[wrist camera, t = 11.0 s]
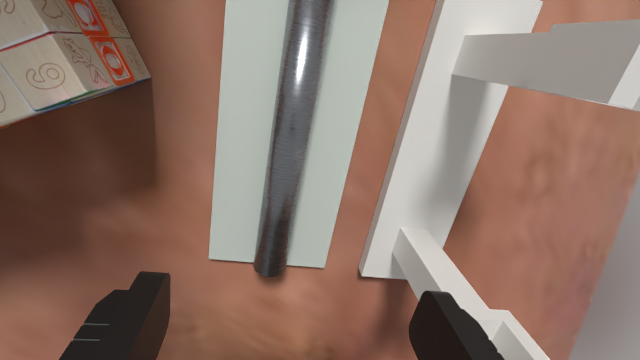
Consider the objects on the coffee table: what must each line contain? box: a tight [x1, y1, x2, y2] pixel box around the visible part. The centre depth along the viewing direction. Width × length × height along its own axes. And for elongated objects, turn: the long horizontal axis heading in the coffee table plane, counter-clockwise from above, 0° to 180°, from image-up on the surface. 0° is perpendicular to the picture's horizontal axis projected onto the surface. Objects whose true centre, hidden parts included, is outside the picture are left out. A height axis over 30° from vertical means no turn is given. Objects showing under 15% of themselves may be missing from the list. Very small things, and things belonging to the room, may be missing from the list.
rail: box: [253, 0, 335, 277], centre depth 26 cm, size 26×3×3 cm, turn 169°
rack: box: [358, 0, 640, 360], centre depth 23 cm, size 8×28×16 cm, turn 169°
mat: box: [209, 0, 389, 268], centre depth 28 cm, size 12×28×1 cm, turn 169°
